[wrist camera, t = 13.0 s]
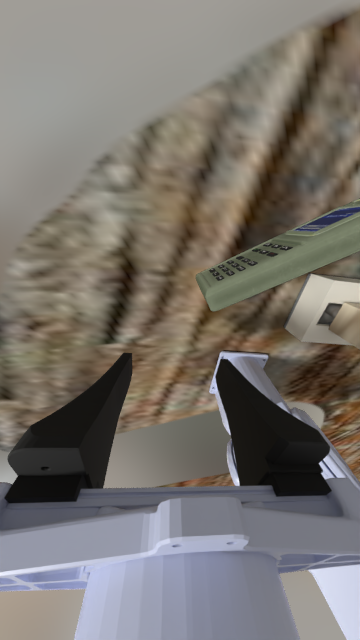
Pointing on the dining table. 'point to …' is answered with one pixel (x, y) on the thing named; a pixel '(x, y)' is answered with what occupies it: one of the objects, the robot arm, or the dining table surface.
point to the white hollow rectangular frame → (320, 307)
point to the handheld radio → (283, 257)
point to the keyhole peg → (344, 321)
